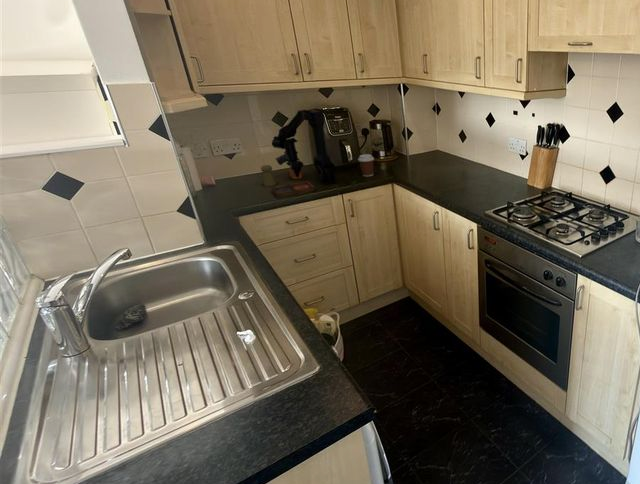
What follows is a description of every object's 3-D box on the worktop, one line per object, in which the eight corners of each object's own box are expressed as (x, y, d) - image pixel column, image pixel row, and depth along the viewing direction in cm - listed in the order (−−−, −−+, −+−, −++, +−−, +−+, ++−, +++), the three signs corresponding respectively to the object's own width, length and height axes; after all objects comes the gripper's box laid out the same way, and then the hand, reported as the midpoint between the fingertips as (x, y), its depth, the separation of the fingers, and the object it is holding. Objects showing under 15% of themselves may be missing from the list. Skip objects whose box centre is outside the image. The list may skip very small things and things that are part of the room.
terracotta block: (299, 175, 243) (298, 167, 241) (302, 177, 239) (300, 169, 237) (290, 177, 240) (289, 169, 238) (293, 179, 236) (291, 170, 234)
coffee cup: (357, 176, 244) (354, 156, 239) (367, 172, 252) (364, 153, 247) (369, 177, 241) (366, 158, 236) (379, 173, 249) (376, 154, 244)
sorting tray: (308, 185, 227) (307, 181, 226) (314, 190, 219) (314, 186, 218) (272, 191, 216) (271, 187, 215) (278, 198, 208) (277, 193, 207)
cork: (271, 186, 224) (266, 167, 219) (261, 185, 225) (256, 166, 221) (278, 183, 229) (274, 164, 225) (269, 182, 230) (265, 163, 226)
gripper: (271, 148, 234) (277, 174, 241) (279, 155, 222) (285, 182, 228) (292, 145, 241) (297, 171, 247) (301, 152, 228) (306, 178, 235)
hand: (296, 175), depth 239 cm, fingers closed on terracotta block, 5 cm apart
